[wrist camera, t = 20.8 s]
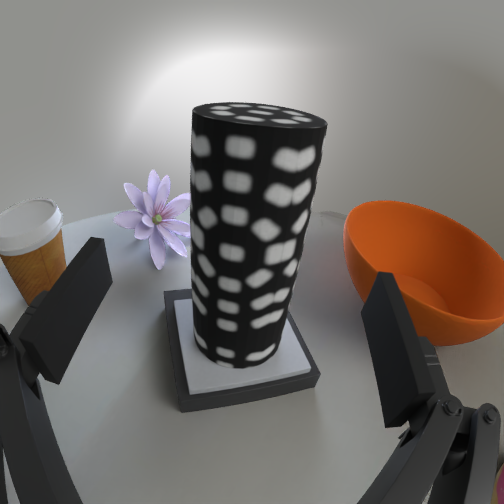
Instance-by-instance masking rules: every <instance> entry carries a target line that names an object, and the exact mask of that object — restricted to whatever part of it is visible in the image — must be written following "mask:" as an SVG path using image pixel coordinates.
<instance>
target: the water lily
mask: <svg viewBox="0 0 504 504" xmlns="http://www.w3.org/2000/svg"><path fill="white" fill-rule="evenodd" d="M124 188H125V191H126V193H127V196H128V198H129V199H130V201H131V203H132V204H133V205H134V206H135V207H136V209H137V210H138V211H140V212H141V213H140V212H137V211H124V212H121V213H119V214H118V215H116V216H115V217H114V219H113V221H114V223H116V224H117V225H119V226H121V227H124V228H127V229H135V234H134V235H135V238H137V239H141V240H143V239H147V238H149V249H150V254H151V257H152V260H153V262H154V264H155V266H156V267H157V269H158V270H160V269H161V268H162V267H163V265H164V262H165V258H166V250H165V244H164V241H165V242H166V243H167V244H168V245H169V246H170V247H171V248H172V249H173V250H174V251H176V252H177V253H178V254H180V255H181V256H183V257H186V258H187V250H186V248H185V246H184V244H183V243H182V241H181V240H180V239H179V238H178V237H177V236H176V235H174V234H173V233H175V234H178V235H181V236H184V237H189V238H190V224H188V223H186V222H183V221H179V220H173V219H176V218H173V217H176V216H178V215H179V214H181V213H183V212H184V211H185V210H186V209H187V208H188V207H189V205H190V193H185V194H181V195H179V196H177V197H176V198H174V199H173V200H171V201H170V202H169V203H167V205H166V206H165V207H164V205H165V203H166V201H167V199H168V195H169V192H170V178H169V176H168V175H166V176H165V177H164V178H163V179H162V180H161V182H160V178H159V176H158V174H157V172H156V171H155V170H154V169H153V170H151V172H150V174H149V178H148V185H147V192H143V193H142V192H141V191H140V189H138V188H137V187H136V186H134V185H133V184H130V183H124ZM163 207H164V208H163ZM162 209H163V210H162ZM161 210H162V211H161ZM160 212H161V213H160ZM169 218H171V219H169ZM170 231H171V232H170ZM172 232H173V233H172ZM163 240H164V241H163Z"/></svg>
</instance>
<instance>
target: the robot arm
mask: <svg viewBox="0 0 504 504" xmlns="http://www.w3.org/2000/svg"><path fill="white" fill-rule="evenodd" d="M112 283H113V281H112V277H111V272H110V268H109V263H108V258H107V253H106V248H105V242H104V239H103V238H95V237H90V239H89V240H88V241H87V242H86V243H85V245H84V246H83V247H82V248H81V250H80V251H79V252H78V253H77V255H76V256H75V257H74V259H73V260H72V261H71V262H70V264H69V265H68V266H67V268H66V269H65V270H64V272H63V273H62V274H61V276H60V277H59V278H58V280H57V281H56V282H55V284H54V285H53V286H52V288H51V289H50V291H46V290H43V291H42V292H41V293H39V294H38V295H37V296H36V297H35V298H34V299H33V301H32V302H31V303H30V305H29V307H28V308H27V309H26V311H25V313H23V315H22V316H21V318H20V319H19V321H18V322H17V324H16V325H15V327H14V328H13V330H12V332H11V333H10V335H9V334H8V332H7V330H6V329H5V327H4V326H3V325H2V324H0V504H8V500H7V493H6V484H5V474H4V462H3V449H4V453H5V457H6V461H7V464H8V468H9V471H10V475H11V478H12V481H13V484H14V487H15V490H16V493H17V496H18V499H19V501H20V504H83V503H82V501H81V499H80V497H79V494H78V492H77V490H76V488H75V486H74V484H73V481H72V479H71V477H70V474H69V472H68V470H67V467H66V465H65V462H64V460H63V457H62V454H61V452H60V449H59V446H58V444H57V441H56V438H55V435H54V432H53V429H52V426H51V423H50V420H49V416H48V413H47V409H46V406H45V402H44V399H43V395H42V391H41V387H40V383H39V381H38V379H37V376H38V374H39V372H40V373H41V374H42V376H43V377H44V379H45V380H47V381H50V382H53V383H55V384H58V385H59V384H60V382H61V380H62V378H63V375H64V373H65V371H66V369H67V367H68V365H69V363H70V361H71V359H72V357H73V355H74V353H75V351H76V349H77V347H78V345H79V343H80V341H81V339H82V337H83V335H84V333H85V331H86V329H87V328H88V326H89V324H90V322H91V320H92V318H93V316H94V315H95V313H96V311H97V309H98V307H99V305H100V304H101V302H102V300H103V298H104V297H105V295H106V293H107V291H108V290H109V288H110V286H111V284H112ZM361 315H362V319H363V323H364V327H365V331H366V335H367V340H368V344H369V348H370V353H371V357H372V362H373V366H374V371H375V376H376V380H377V385H378V390H379V396H380V401H381V406H382V412H383V417H384V423H385V428H390V427H401V426H402V425H403V424H405V423H406V422H407V421H408V420H409V425H410V427H409V428H408V429H407V430H406V431H405V432H403V433H402V434H401V435H400V436H399V437H398V438H399V439H401V438H402V439H401V441H400V442H399V444H398V446H397V447H396V449H395V450H394V452H393V454H392V455H391V457H390V458H389V460H388V461H387V463H386V464H385V466H384V467H383V469H382V470H381V472H380V473H379V475H378V476H377V477H376V479H375V480H374V482H373V483H372V484H371V486H370V487H369V489H368V490H367V491H366V493H365V494H364V495H363V496H362V498H361V499H360V500H359V502H358V503H357V504H422V502H423V501H424V499H425V497H426V495H427V494H428V492H429V490H430V488H431V486H432V484H433V487H432V490H431V494H430V497H429V500H428V504H491V499H492V494H493V488H494V482H495V476H496V469H497V461H498V451H499V440H500V424H501V419H500V414H499V411H498V410H497V408H496V407H495V406H494V405H492V404H489V403H486V404H483V405H482V406H481V407H479V408H478V409H473V408H469V407H464V406H463V405H462V403H461V402H460V400H459V399H458V398H457V397H455V396H453V395H450V392H449V389H448V386H447V383H446V380H445V377H444V374H443V371H442V369H441V366H440V365H439V364H440V363H439V360H438V357H436V356H437V355H436V352H435V349H434V347H433V345H432V343H431V342H430V341H429V340H428V338H427V337H424V336H418V335H417V332H416V330H415V327H414V324H413V322H412V319H411V317H410V314H409V311H408V309H407V306H406V304H405V301H404V299H403V297H402V294H401V292H400V289H399V287H398V285H397V282H396V280H395V278H394V275H393V273H390V272H381V271H378V274H377V276H376V279H375V281H374V283H373V286H372V288H371V291H370V293H369V295H368V298H367V300H366V302H365V304H364V307H363V309H362V311H361Z"/></svg>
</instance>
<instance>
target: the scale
mask: <svg viewBox="0 0 504 504" xmlns="http://www.w3.org/2000/svg"><path fill="white" fill-rule="evenodd" d="M164 300H165V309H166V317H167V325H168V333H169V341H170V348H171V355H172V362H173V368H174V374H175V381H176V387H177V392H178V398H179V403H180V408H181V412H182V413H184V412H192V411H199V410H206V409H213V408H219V407H225V406H231V405H236V404H242V403H247V402H252V401H257V400H262V399H266V398H271V397H275V396H280V395H284V394H288V393H292V392H296V391H300V390H304V389H308V388H312V387H315V385H316V383H317V381H318V379H319V377H320V375H321V374H320V372H319V370H318V368H317V366H316V364H315V362H314V360H313V358H312V356H311V354H310V352H309V350H308V348H307V346H306V344H305V342H304V340H303V338H302V336H301V334H300V332H299V330H298V328H297V326H296V324H295V322H294V320H293V318H292V316H291V314H290V312H289V310H288V314H287V319H286V323H285V326H284V330H283V334H282V338H281V342H280V345H279V348H278V350H277V351H276V353H275V354H274V356H272V357H271V358H270V359H269V360H268V361H266V362H264V363H263V364H261V365H258V366H255V367H251V368H244V369H235V368H229V367H224V366H221V365H219V364H216V363H214V362H213V361H211V360H209V359H208V358H207V357H206V356H204V355H203V354H202V353H201V351H200V350H199V348H198V347H197V345H196V342H195V338H194V327H193V307H192V289H183V290H173V291H164Z"/></svg>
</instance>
